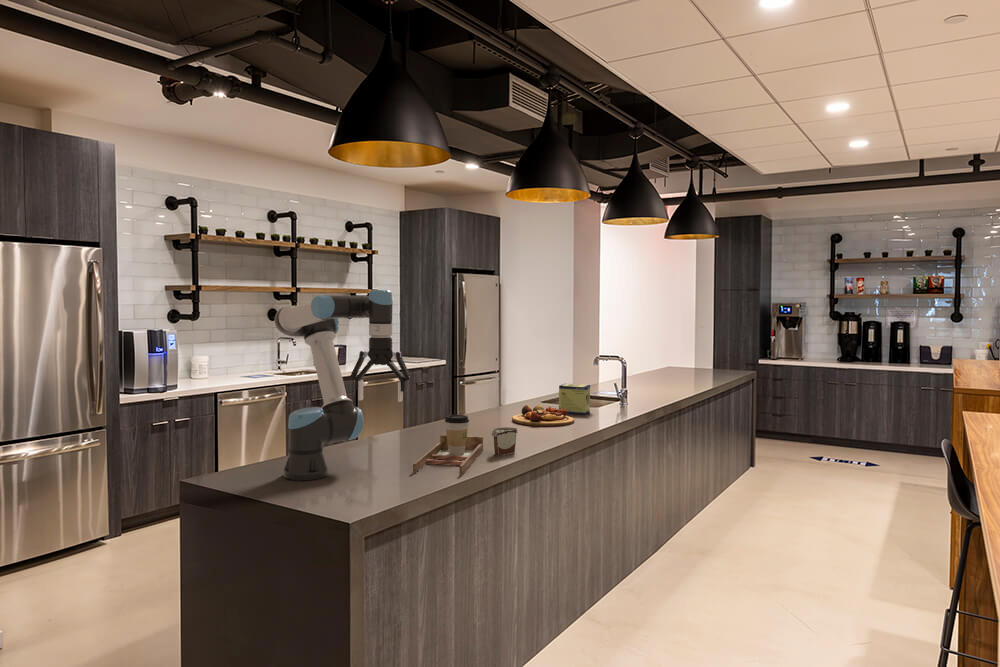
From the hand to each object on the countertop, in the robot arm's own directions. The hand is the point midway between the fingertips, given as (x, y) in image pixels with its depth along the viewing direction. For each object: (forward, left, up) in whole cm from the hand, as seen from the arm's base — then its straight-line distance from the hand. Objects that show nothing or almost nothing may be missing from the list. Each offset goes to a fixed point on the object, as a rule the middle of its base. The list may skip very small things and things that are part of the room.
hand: (380, 400), depth 226 cm
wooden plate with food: (+41, +132, -29) cm, 142 cm away
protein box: (+56, +162, -29) cm, 174 cm away
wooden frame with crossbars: (+15, +37, -29) cm, 49 cm away
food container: (+32, +56, -29) cm, 71 cm away
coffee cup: (+15, +49, -28) cm, 59 cm away
